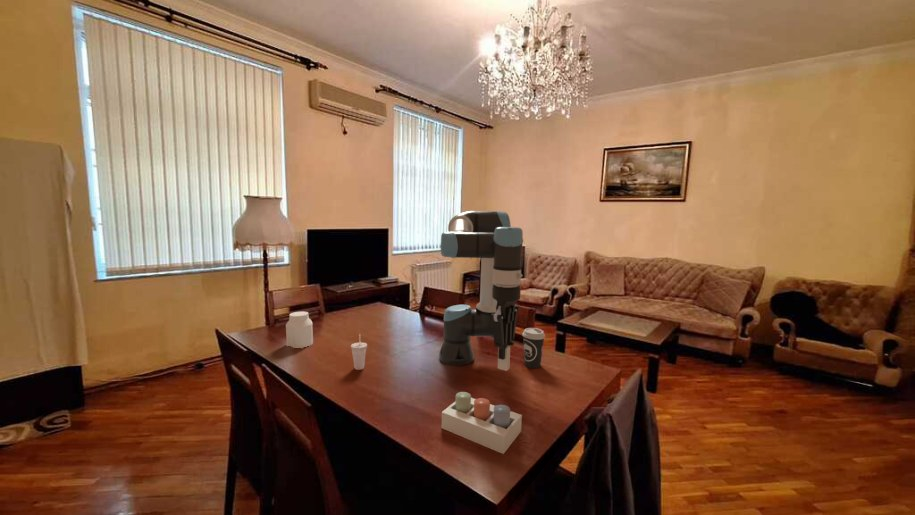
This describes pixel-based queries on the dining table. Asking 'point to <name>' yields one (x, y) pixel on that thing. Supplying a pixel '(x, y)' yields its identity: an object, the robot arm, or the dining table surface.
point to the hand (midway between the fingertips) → (503, 368)
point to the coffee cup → (533, 346)
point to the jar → (299, 330)
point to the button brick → (482, 409)
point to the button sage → (463, 402)
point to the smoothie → (359, 354)
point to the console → (481, 427)
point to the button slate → (501, 416)
